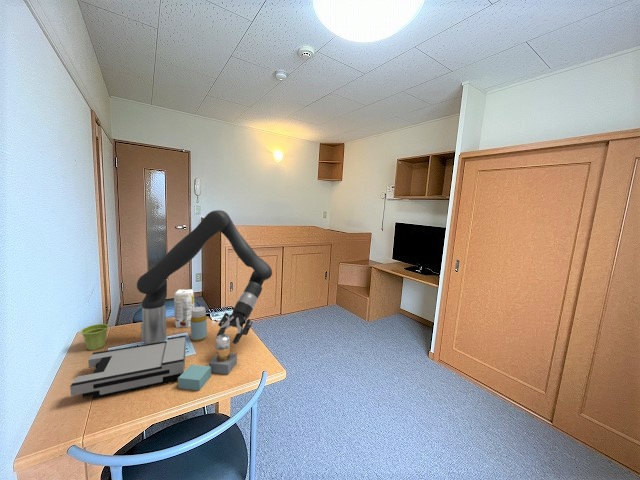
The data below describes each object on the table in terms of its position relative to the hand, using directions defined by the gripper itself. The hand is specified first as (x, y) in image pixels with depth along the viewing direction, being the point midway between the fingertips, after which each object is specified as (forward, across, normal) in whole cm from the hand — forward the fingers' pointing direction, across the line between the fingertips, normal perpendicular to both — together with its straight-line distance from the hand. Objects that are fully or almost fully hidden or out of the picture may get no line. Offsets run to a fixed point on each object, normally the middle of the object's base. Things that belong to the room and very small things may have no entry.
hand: (226, 340), depth 107 cm
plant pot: (+20, -60, -5) cm, 63 cm away
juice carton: (-4, -46, +19) cm, 50 cm away
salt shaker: (+6, 0, +4) cm, 7 cm away
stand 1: (+17, -2, -2) cm, 17 cm away
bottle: (+1, -28, +14) cm, 31 cm away
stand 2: (+9, 0, +6) cm, 11 cm away
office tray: (+22, -25, -7) cm, 34 cm away
